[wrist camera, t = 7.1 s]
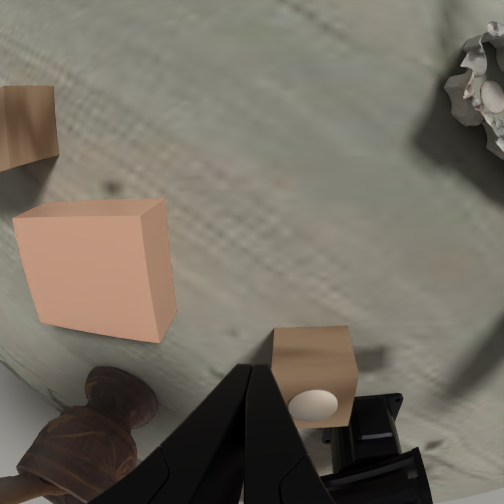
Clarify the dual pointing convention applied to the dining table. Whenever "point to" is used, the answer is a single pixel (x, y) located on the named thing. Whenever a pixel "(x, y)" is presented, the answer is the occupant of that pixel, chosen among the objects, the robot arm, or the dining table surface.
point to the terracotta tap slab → (100, 266)
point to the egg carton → (492, 96)
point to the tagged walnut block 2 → (316, 374)
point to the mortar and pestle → (85, 443)
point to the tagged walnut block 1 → (27, 125)
